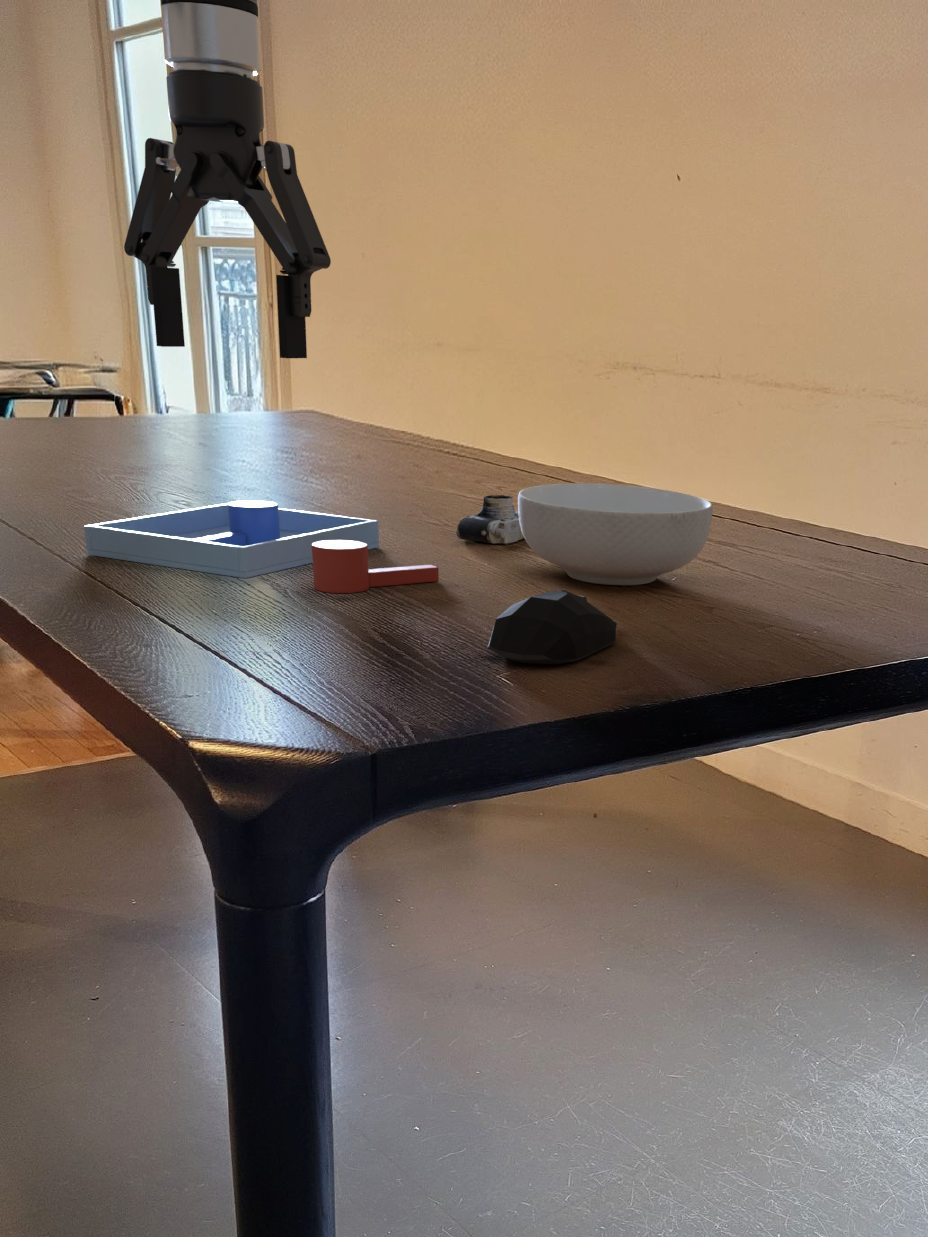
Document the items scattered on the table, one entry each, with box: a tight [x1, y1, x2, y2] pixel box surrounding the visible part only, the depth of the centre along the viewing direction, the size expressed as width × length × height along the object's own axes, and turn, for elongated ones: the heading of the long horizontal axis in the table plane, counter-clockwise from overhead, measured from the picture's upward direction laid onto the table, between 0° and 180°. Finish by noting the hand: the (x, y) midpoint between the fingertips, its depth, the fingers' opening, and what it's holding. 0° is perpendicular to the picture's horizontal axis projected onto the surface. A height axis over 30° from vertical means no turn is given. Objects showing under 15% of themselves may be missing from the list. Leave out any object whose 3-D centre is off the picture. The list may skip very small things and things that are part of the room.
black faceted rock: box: [487, 589, 618, 665], centre depth 90 cm, size 6×15×4 cm, turn 154°
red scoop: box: [312, 540, 440, 594], centre depth 106 cm, size 11×4×4 cm, turn 126°
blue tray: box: [83, 502, 380, 579], centre depth 118 cm, size 17×19×2 cm
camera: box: [455, 494, 524, 545], centre depth 131 cm, size 5×10×4 cm, turn 152°
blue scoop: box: [193, 499, 280, 546], centre depth 116 cm, size 11×4×4 cm, turn 156°
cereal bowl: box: [517, 482, 714, 586], centre depth 114 cm, size 17×17×7 cm
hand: (230, 352), depth 114 cm, fingers open, 13 cm apart
